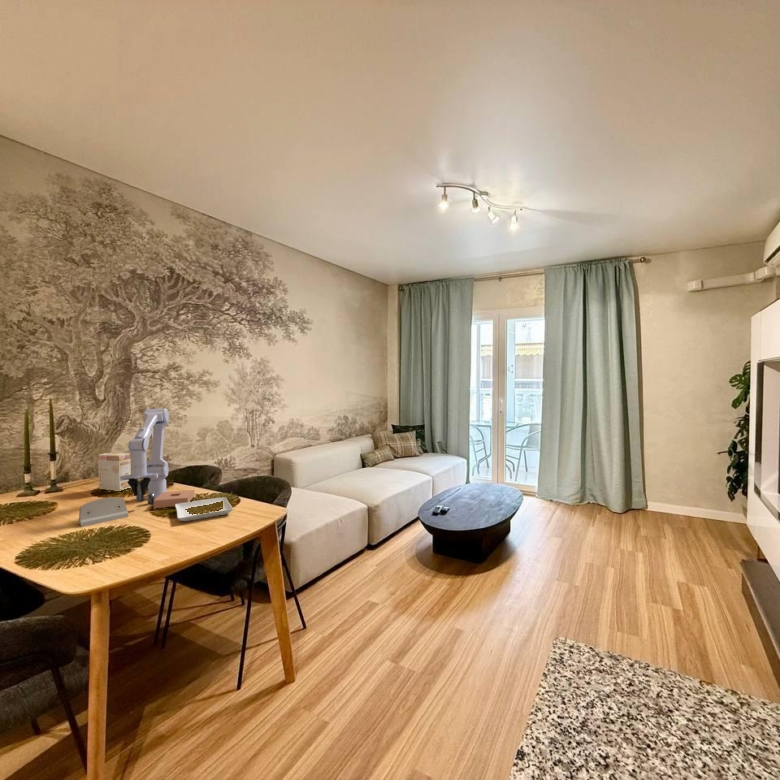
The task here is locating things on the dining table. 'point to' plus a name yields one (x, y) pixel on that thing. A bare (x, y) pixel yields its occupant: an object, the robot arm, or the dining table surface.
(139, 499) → the tall pin
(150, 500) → the short pin
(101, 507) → the grey bracket
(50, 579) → the dining table surface
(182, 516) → the salad plate
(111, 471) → the coffeecake box
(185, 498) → the hole block
